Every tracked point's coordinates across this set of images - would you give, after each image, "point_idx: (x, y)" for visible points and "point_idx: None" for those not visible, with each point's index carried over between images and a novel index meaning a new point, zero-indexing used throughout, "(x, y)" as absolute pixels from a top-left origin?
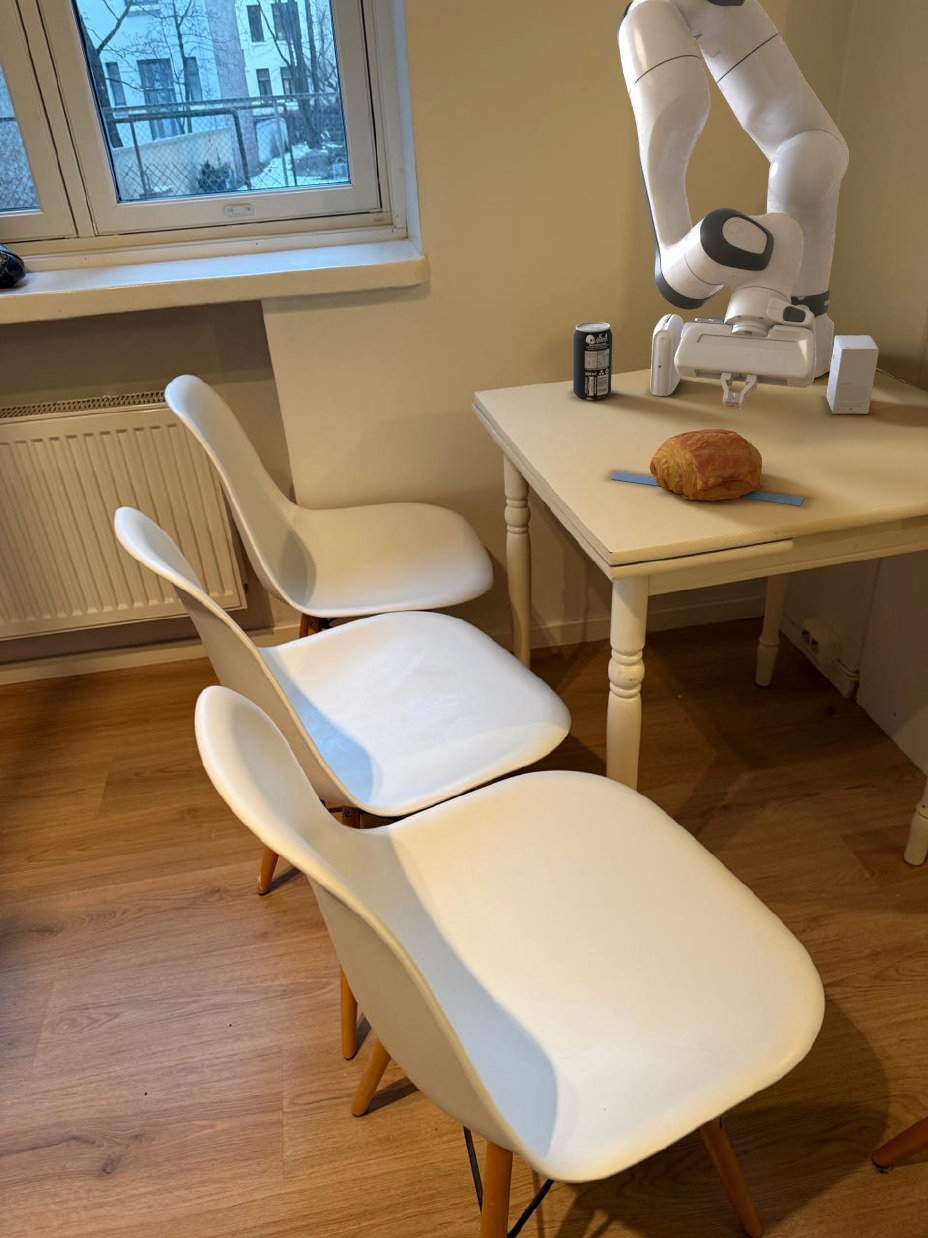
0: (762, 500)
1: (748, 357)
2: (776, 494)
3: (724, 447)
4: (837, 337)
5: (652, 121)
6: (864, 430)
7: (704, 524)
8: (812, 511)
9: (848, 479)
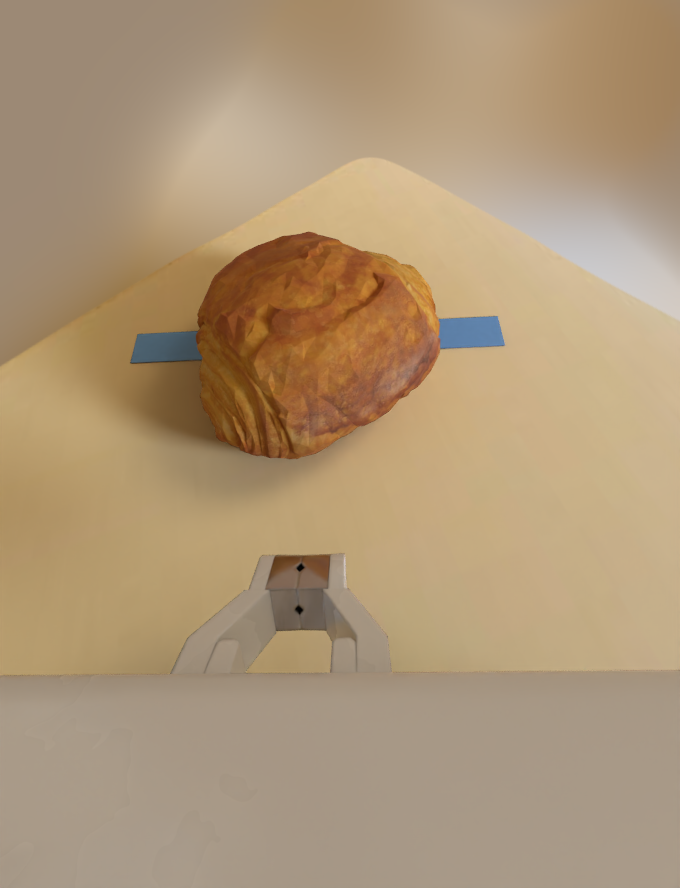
0: None
1: (187, 808)
2: (180, 359)
3: (262, 269)
4: None
5: None
6: None
7: None
8: (118, 324)
9: (33, 478)
